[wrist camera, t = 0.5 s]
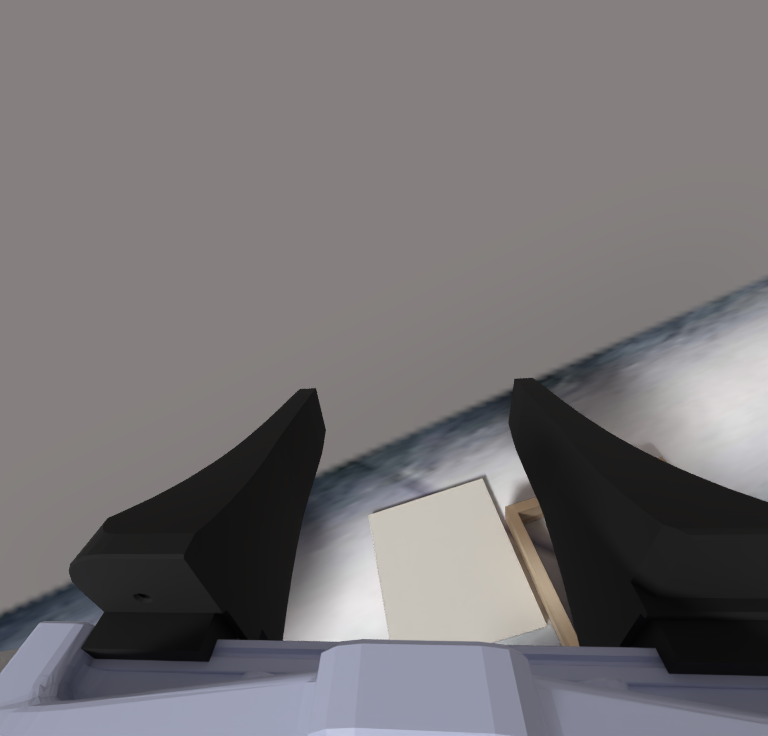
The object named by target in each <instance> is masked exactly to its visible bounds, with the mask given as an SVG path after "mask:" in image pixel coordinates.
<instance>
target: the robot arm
mask: <svg viewBox="0 0 768 736" xmlns="http://www.w3.org/2000/svg"><path fill="white" fill-rule="evenodd" d="M509 427H510V430H511V434H512V438H513V441H514V445H515V448H516V451H517V453H518V456H519V458H520V460H521V463H522V465H523V467H524V470H525V472H526V474H527V477H528V479H529V481H530V484H531V486H532V488H533V491H534V493H535V495H536V498H537V500H538V502H539V505H540V507H541V510H542V513H543V515H544V518H545V522H546V525H547V528H548V531H549V535H550V538H551V541H552V544H553V548H554V551H555V555H556V558H557V562H558V565H559V568H560V572H561V575H562V579H563V583H564V587H565V591H566V594H567V598H568V602H569V606H570V609H571V613H572V617H573V622H574V626H575V630H576V634H577V638H578V642H579V646H580V647H576V646H525V645H502V644H495V643H487V642H478V641H425V640H371V639H361V640H351V641H341V642H320V641H283V633H284V626H285V618H286V611H287V604H288V597H289V591H290V584H291V578H292V572H293V566H294V561H295V555H296V549H297V544H298V539H299V534H300V529H301V524H302V519H303V515H304V511H305V507H306V504H307V501H308V498H309V494H310V491H311V488H312V485H313V482H314V478H315V475H316V472H317V469H318V465H319V462H320V458H321V455H322V450H323V445H324V438H325V431H326V429H325V425H324V420H323V417H322V412H321V408H320V404H319V399H318V395H317V391H316V388H314V389H313V388H312V389H300V390H299V391H297V392H296V393H295V394H294V395H293V396H292V397H291V398H290V399H289V400H288V401H287V402H286V403H285V404H284V405H283V406H282V407H281V408H280V409H279V410H278V411H276V412H275V413H274V414H273V415H272V416H271V417H270V418H269V419H268V420H267V421H266V422H265V423H264V424H263V425H261V426H260V427H259V428H258V429H257V430H255V431H254V432H253V433H252V434H251V435H250V436H248V437H247V438H246V439H245V440H244V441H242V442H241V443H240V444H239V445H237V446H236V447H235V448H234V449H232V450H231V451H229V452H228V453H227V454H225V455H224V456H223V457H221V458H219V459H218V460H217V461H215V462H214V463H212V464H210V465H209V466H207V467H206V468H204V469H202V470H201V471H199V472H198V473H196V474H195V475H193V476H191V477H190V478H188V479H186V480H185V481H183V482H181V483H179V484H177V485H176V486H174V487H172V488H170V489H168V490H166V491H164V492H162V493H161V494H159V495H157V496H155V497H153V498H151V499H149V500H147V501H144V502H143V503H140V504H138V505H136V506H134V507H132V508H129V509H127V510H125V511H123V512H121V513H118V514H116V515H114V516H112V517H109V518H108V519H107V520H106V521H105V522H104V523H103V525H102V526H101V527H100V528H99V530H98V531H97V532H96V533H95V534H94V536H93V537H92V538H91V539H90V541H89V542H88V543H87V545H86V546H85V547H84V548H83V549H82V550H81V552H80V553H79V554H78V555H77V557H76V558H75V559H74V560H73V562H72V563H71V564H70V568H69V574H70V577H71V580H72V582H73V583H74V584H75V585H76V586H77V588H78V589H79V590H81V591H82V592H83V593H84V594H85V595H86V596H87V597H88V598H89V599H91V600H92V601H93V602H94V603H95V604H96V605H97V606H98V607H99V608H101V609H102V610H103V611H104V613H103V615H102V617H101V618H100V620H99V621H98V623H97V624H96V626H94V625H92V624H89V623H86V622H72V621H44V622H41V623H39V624H38V625H37V627H36V628H35V629H34V631H33V632H32V633H31V634H30V636H29V637H28V638H27V640H26V641H25V642H24V643H23V645H22V646H21V647H20V648H19V650H18V651H17V652H16V654H15V655H14V656H13V657H12V659H11V660H10V661H9V663H8V664H7V665H6V666H5V668H4V669H3V670H2V672H1V673H0V736H768V502H766V501H763V500H760V499H757V498H754V497H751V496H748V495H745V494H743V493H740V492H737V491H734V490H731V489H728V488H726V487H723V486H721V485H718V484H716V483H713V482H711V481H708V480H706V479H703V478H701V477H698V476H696V475H693V474H691V473H689V472H686V471H684V470H682V469H679V468H677V467H675V466H673V465H671V464H668V463H666V462H664V461H662V460H660V459H658V458H656V457H654V456H652V455H650V454H648V453H646V452H644V451H642V450H640V449H638V448H636V447H634V446H632V445H631V444H629V443H627V442H625V441H623V440H622V439H620V438H618V437H616V436H614V435H613V434H611V433H609V432H608V431H606V430H605V429H603V428H601V427H600V426H598V425H597V424H595V423H594V422H592V421H591V420H589V419H588V418H586V417H585V416H583V415H582V414H580V413H579V412H577V411H576V410H575V409H573V408H572V407H571V406H569V405H568V404H566V403H565V402H564V401H562V400H561V399H560V398H558V397H557V396H556V395H554V394H553V393H552V392H551V391H549V390H548V389H547V388H545V387H544V386H543V385H541V384H540V383H539V382H537V381H536V380H535V379H533V378H523V379H514V387H513V394H512V402H511V409H510V417H509Z"/></svg>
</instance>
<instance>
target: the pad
mask: <svg viewBox="0 0 768 736" xmlns="http://www.w3.org/2000/svg"><path fill="white" fill-rule="evenodd" d="M368 516H369V522H370V528H371V534H372V540H373V545H374V551H375V557H376V563H377V569H378V575H379V580H380V586H381V592H382V598H383V604H384V610H385V616H386V621H387V627H388V633H389V639H390V640H425V641H478V642H487V643H494V642H497V641H501V640H504V639H508V638H511V637H514V636H518V635H521V634H524V633H528V632H531V631H534V630H538V629H541V628H544V627H547V624H546V622H545V620H544V617H543V615H542V613H541V611H540V608H539V606H538V604H537V602H536V599H535V597H534V595H533V592H532V590H531V588H530V586H529V583H528V581H527V579H526V577H525V574H524V572H523V570H522V567H521V565H520V563H519V561H518V558H517V556H516V554H515V552H514V549H513V547H512V545H511V542H510V540H509V538H508V536H507V533H506V531H505V529H504V527H503V524H502V522H501V520H500V517H499V515H498V513H497V511H496V508H495V506H494V504H493V502H492V499H491V497H490V495H489V492H488V490H487V488H486V486H485V483H484V481H483V479H479V480H476V481H472V482H469V483H466V484H463V485H460V486H457V487H454V488H451V489H448V490H445V491H442V492H438V493H435V494H432V495H429V496H426V497H423V498H420V499H417V500H414V501H411V502H408V503H405V504H401V505H398V506H395V507H392V508H389V509H386V510H383V511H380V512H377V513H374V514H371V515H368Z"/></svg>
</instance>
